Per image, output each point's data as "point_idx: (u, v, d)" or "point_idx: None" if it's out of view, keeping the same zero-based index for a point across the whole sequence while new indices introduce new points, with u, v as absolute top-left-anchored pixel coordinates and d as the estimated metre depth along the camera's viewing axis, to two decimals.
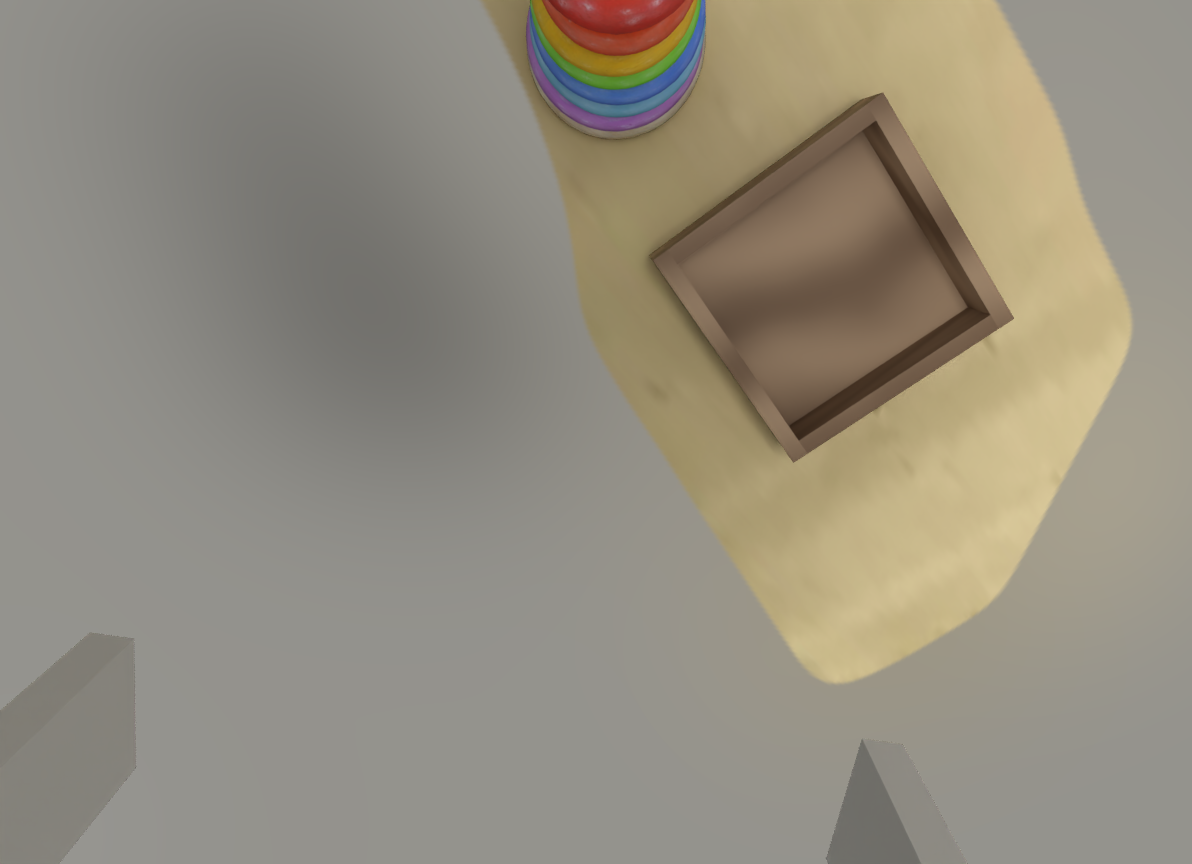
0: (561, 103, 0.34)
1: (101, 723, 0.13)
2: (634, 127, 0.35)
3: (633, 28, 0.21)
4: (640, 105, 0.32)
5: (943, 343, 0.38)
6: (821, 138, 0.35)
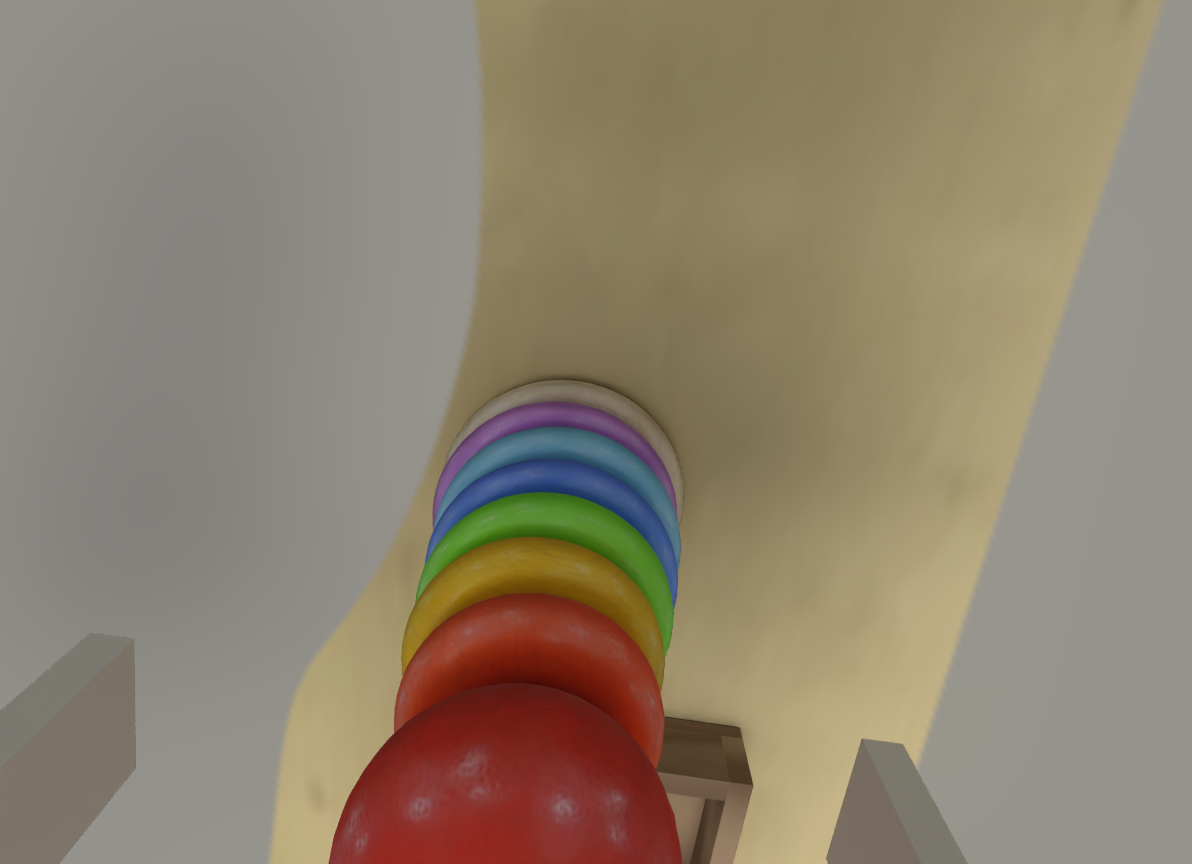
0: None
1: (101, 723, 0.13)
2: None
3: None
4: None
5: None
6: (663, 773, 0.27)
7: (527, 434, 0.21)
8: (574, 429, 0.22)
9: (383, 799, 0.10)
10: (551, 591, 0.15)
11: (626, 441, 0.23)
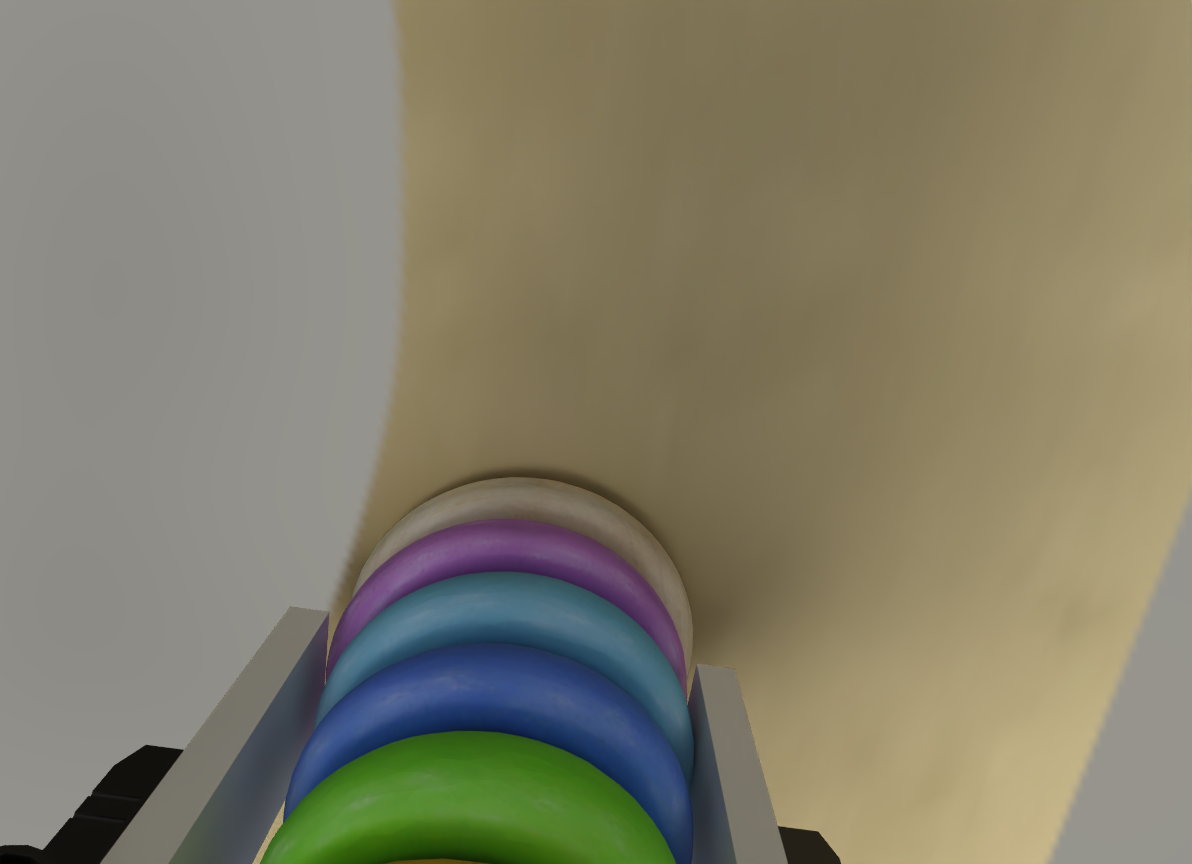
0: None
1: (308, 685, 0.15)
2: None
3: None
4: None
5: None
6: None
7: (456, 590, 0.14)
8: (530, 579, 0.14)
9: None
10: None
11: (611, 583, 0.15)
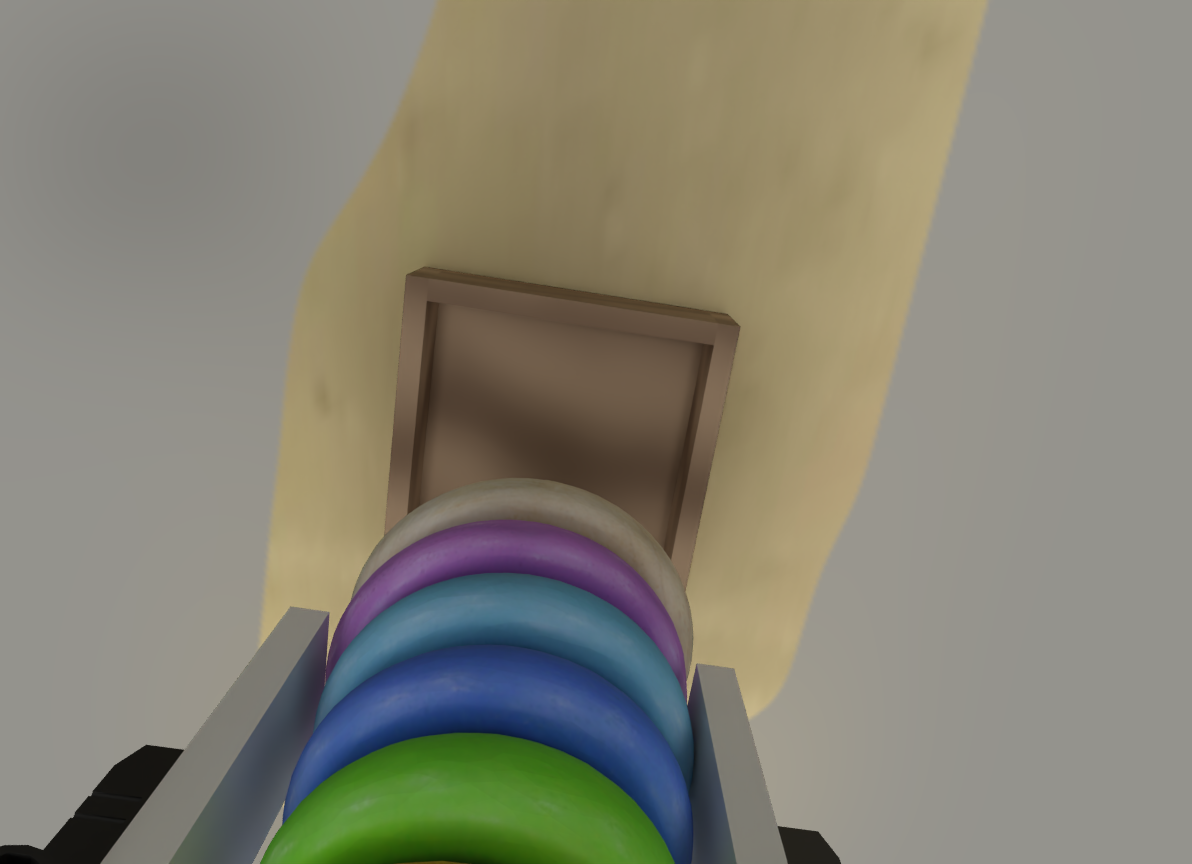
0: None
1: (309, 685, 0.15)
2: None
3: None
4: None
5: None
6: (655, 314, 0.29)
7: (455, 591, 0.14)
8: (530, 580, 0.14)
9: None
10: None
11: (611, 584, 0.15)
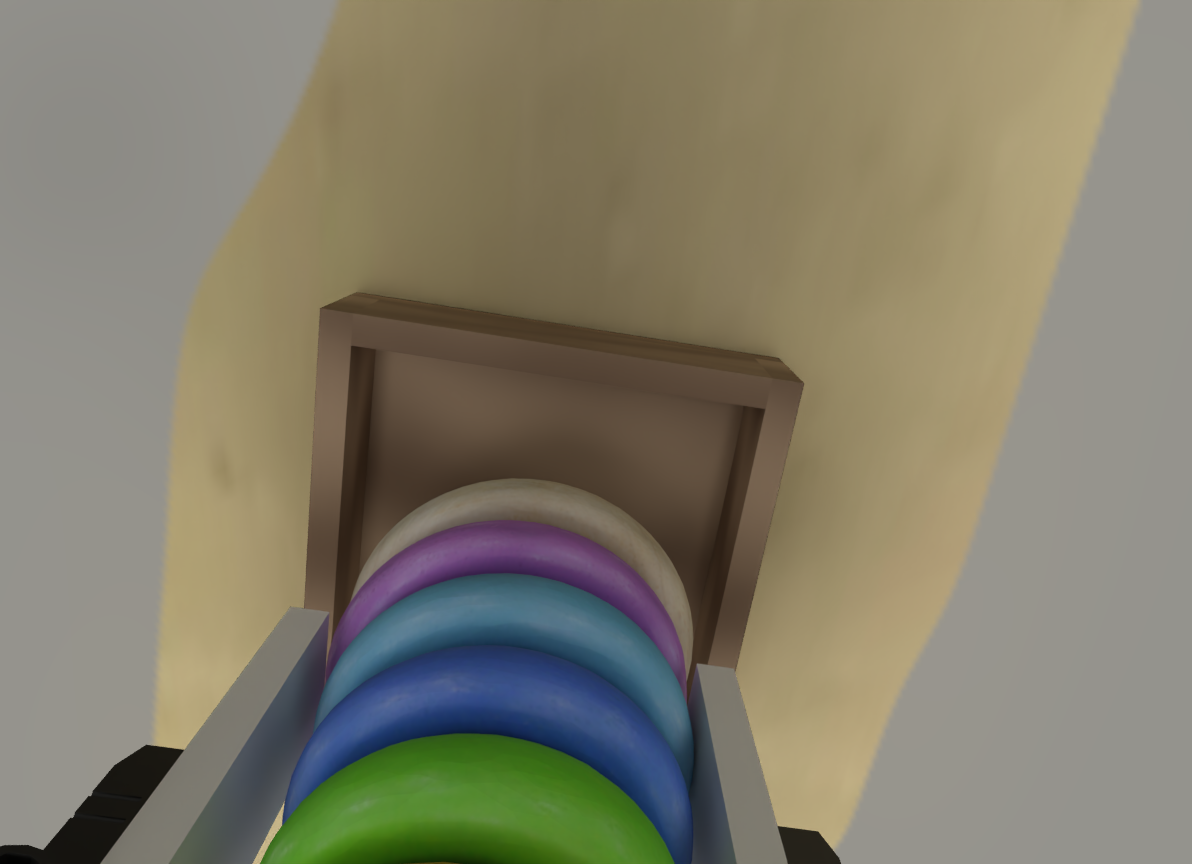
0: None
1: (309, 685, 0.15)
2: None
3: None
4: None
5: None
6: (681, 365, 0.20)
7: (455, 592, 0.14)
8: (529, 581, 0.14)
9: None
10: None
11: (611, 585, 0.15)
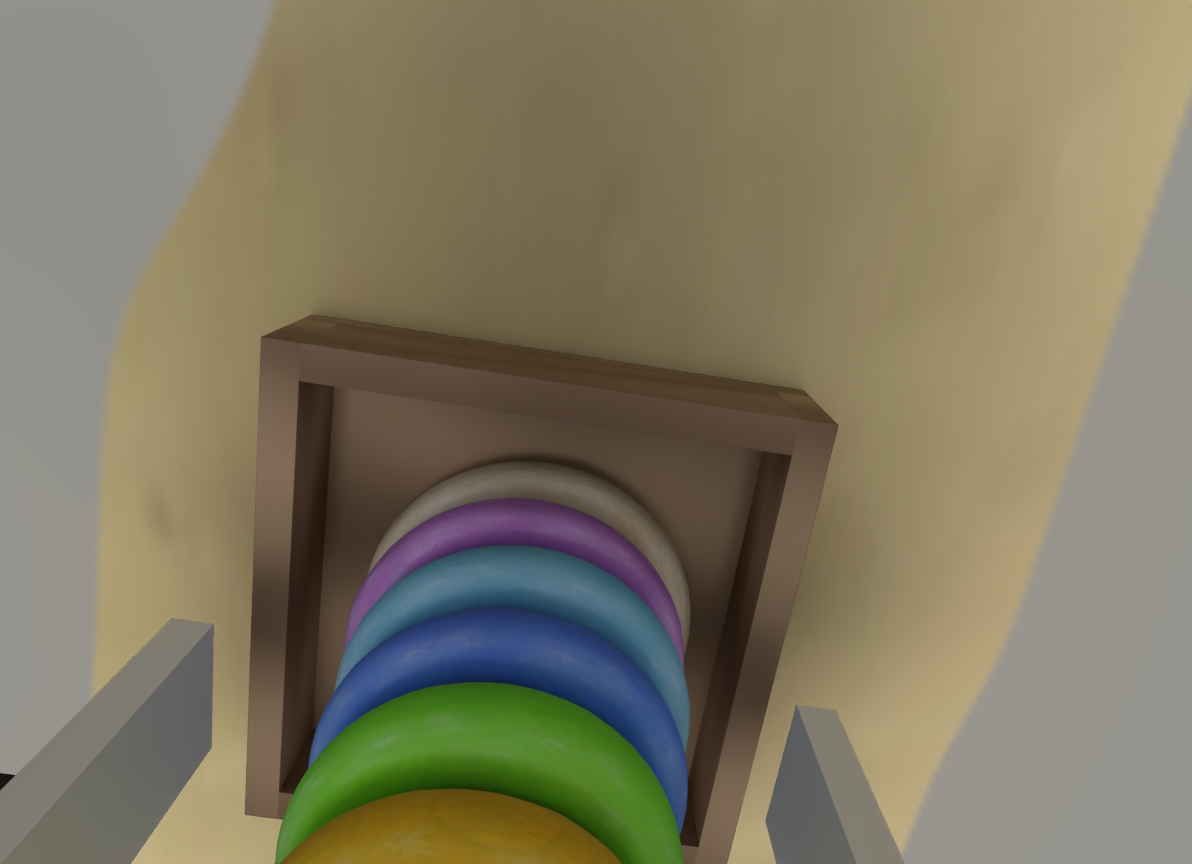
0: None
1: (186, 703, 0.14)
2: None
3: None
4: None
5: None
6: (692, 404, 0.17)
7: (467, 560, 0.15)
8: (536, 551, 0.15)
9: None
10: None
11: (613, 558, 0.16)
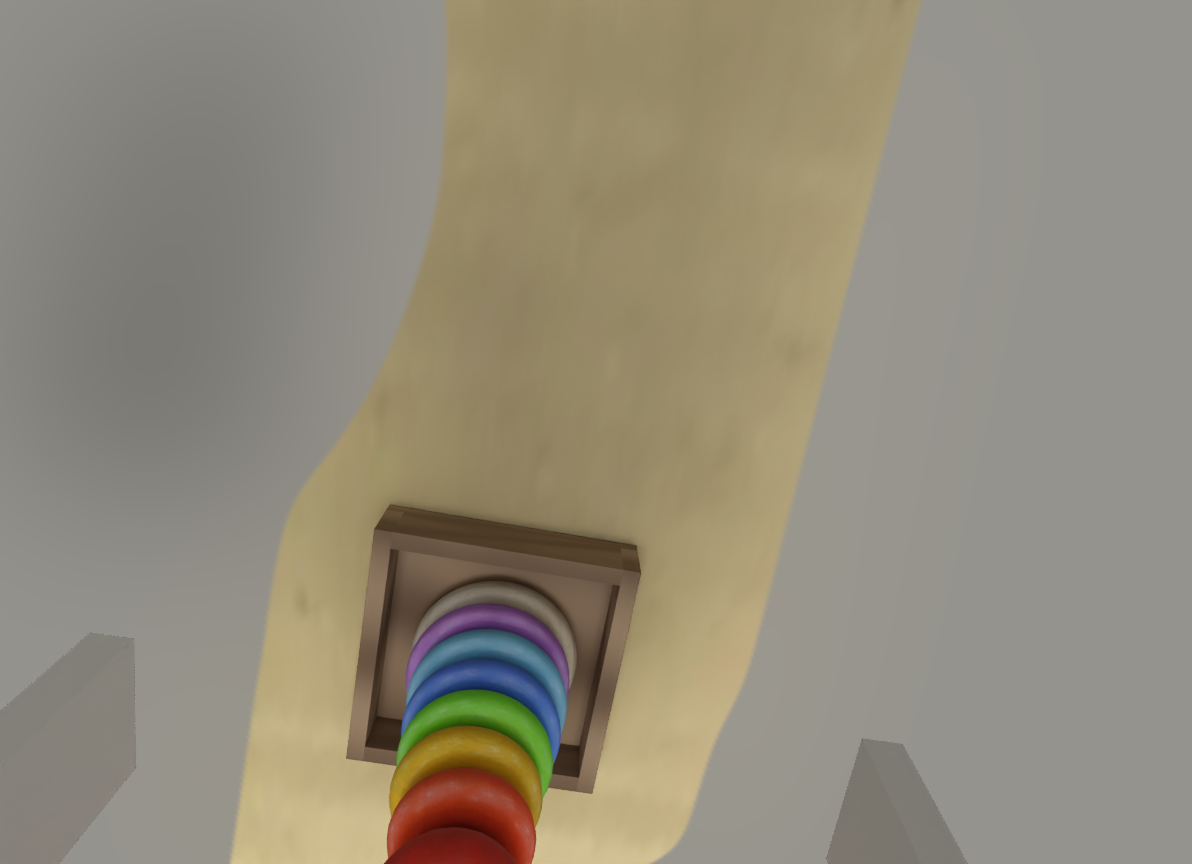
0: None
1: (101, 723, 0.13)
2: None
3: None
4: None
5: None
6: (573, 562, 0.36)
7: (469, 637, 0.34)
8: (499, 633, 0.34)
9: None
10: (476, 763, 0.28)
11: (534, 633, 0.36)
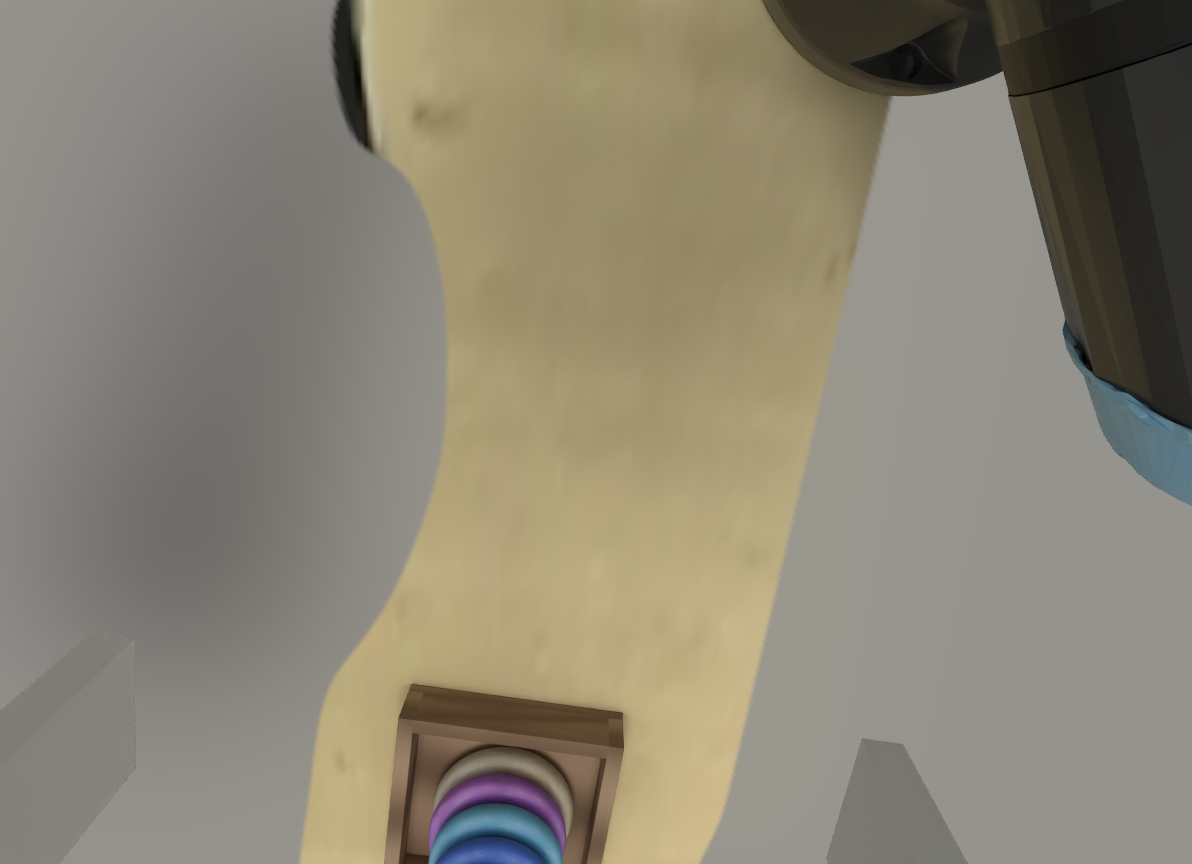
0: (431, 850, 0.43)
1: (101, 723, 0.13)
2: None
3: None
4: None
5: None
6: (566, 741, 0.43)
7: (479, 814, 0.41)
8: (504, 809, 0.41)
9: None
10: None
11: (534, 803, 0.42)
